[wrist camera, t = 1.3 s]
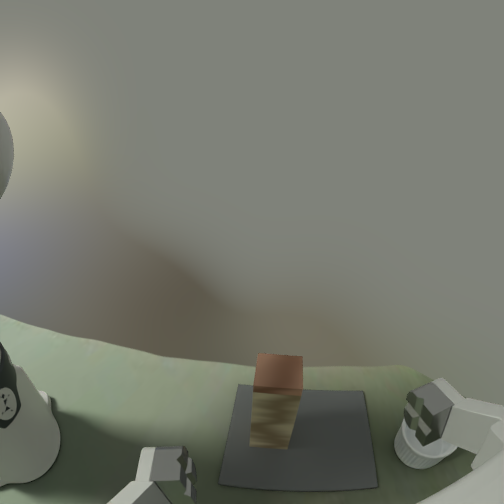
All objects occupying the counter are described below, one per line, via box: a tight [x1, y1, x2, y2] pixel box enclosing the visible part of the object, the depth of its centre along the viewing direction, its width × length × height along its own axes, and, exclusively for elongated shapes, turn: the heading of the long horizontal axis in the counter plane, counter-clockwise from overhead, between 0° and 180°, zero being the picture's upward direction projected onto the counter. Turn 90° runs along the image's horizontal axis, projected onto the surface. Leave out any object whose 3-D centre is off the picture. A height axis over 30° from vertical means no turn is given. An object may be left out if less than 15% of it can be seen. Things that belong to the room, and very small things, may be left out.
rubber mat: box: [218, 384, 378, 492], centre depth 32 cm, size 18×16×1 cm
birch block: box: [249, 353, 303, 449], centre depth 30 cm, size 4×4×12 cm
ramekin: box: [394, 419, 458, 469], centre depth 28 cm, size 9×9×4 cm
